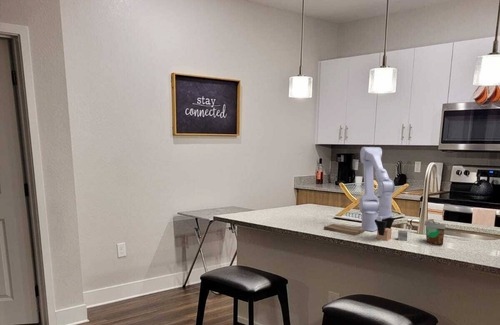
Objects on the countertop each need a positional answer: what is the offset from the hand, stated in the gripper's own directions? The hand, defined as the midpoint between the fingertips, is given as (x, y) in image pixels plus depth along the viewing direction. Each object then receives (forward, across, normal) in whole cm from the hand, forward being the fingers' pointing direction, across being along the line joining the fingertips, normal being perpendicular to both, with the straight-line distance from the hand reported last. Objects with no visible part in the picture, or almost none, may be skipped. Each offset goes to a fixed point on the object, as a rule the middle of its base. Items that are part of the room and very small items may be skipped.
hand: (384, 233), depth 184 cm
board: (+2, +2, +22) cm, 22 cm away
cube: (+3, 0, 0) cm, 3 cm away
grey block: (+3, +5, -7) cm, 9 cm away
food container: (+3, +9, -19) cm, 21 cm away
